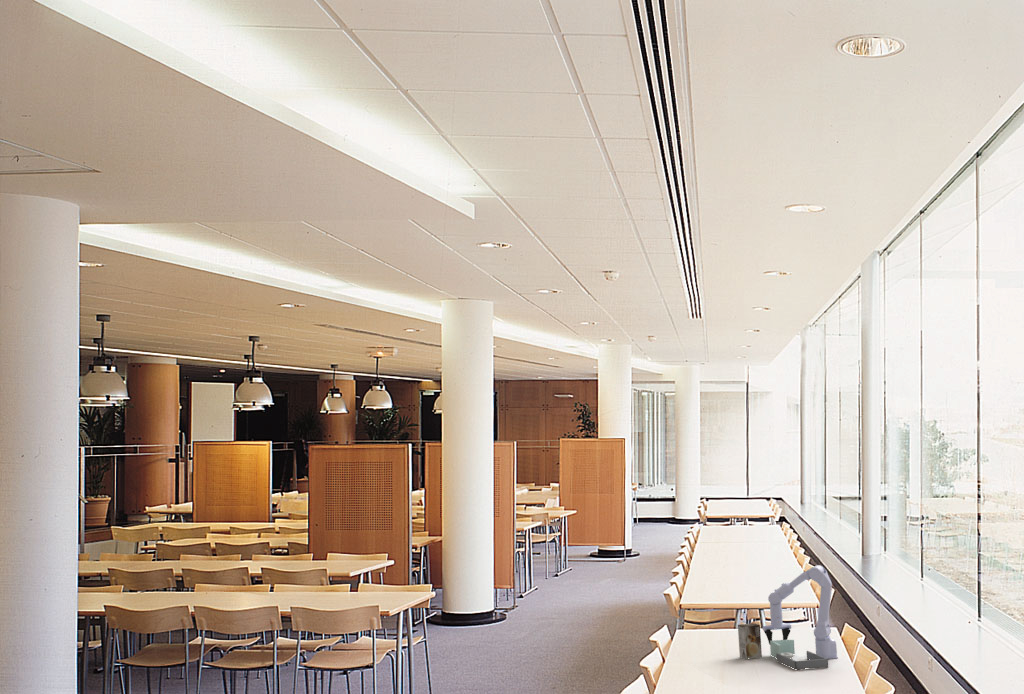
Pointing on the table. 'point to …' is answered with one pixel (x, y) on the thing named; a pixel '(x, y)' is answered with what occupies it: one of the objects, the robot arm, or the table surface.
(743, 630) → the coffee box
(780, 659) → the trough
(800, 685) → the table surface
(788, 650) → the l-shaped corner panel
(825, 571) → the robot arm
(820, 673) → the table surface
